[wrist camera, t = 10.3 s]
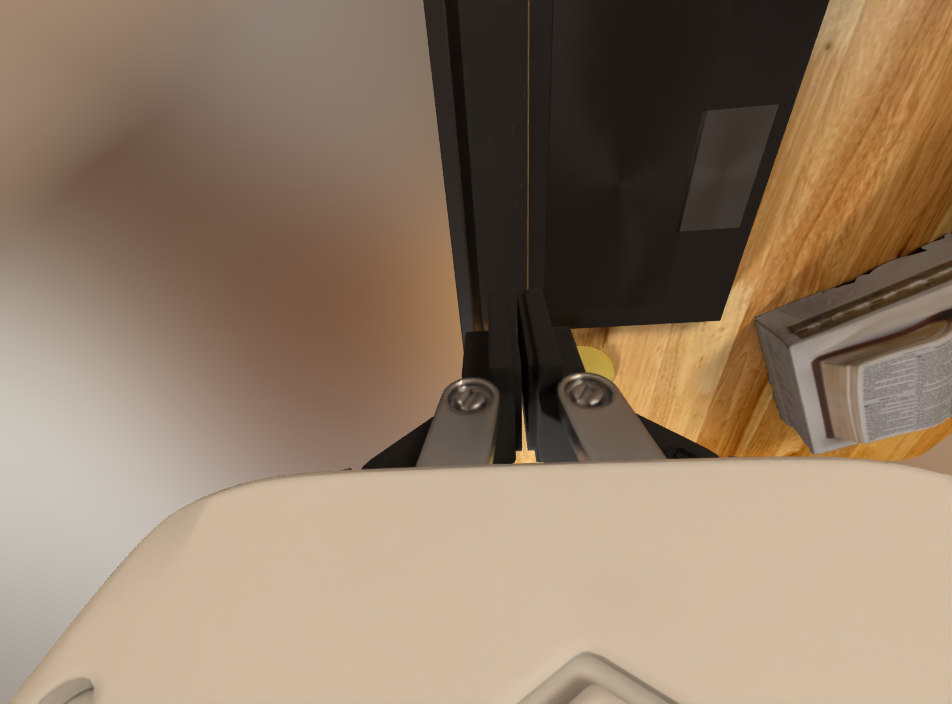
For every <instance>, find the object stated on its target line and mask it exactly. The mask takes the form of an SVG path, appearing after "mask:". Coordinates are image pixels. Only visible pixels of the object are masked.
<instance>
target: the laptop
mask: <svg viewBox="0 0 952 704" xmlns="http://www.w3.org/2000/svg"><path fill="white" fill-rule="evenodd" d="M828 3H829V0H528V198H527V289H533V288H541V289H542V293H543V296H544V300H545V303H546V307H547V310H548V313H549V317H550V320H551V324H552V327H564V326H568V327H569V328H570V329H576V328H595V327H613V326H631V325H650V324H668V323H686V322H704V321H720V320H721V317H722V314H723V311H724V308H725V305H726V302H727V299H728V296H729V293H730V290H731V287H732V284H733V282H734V279H735V276H736V273H737V270H738V267H739V264H740V261H741V258H742V255H743V252H744V249H745V246H746V243H747V240H748V238H749V235H750V232H751V229H752V226H753V223H754V220H755V217H756V214H757V211H758V208H759V205H760V202H761V199H762V197H763V194H764V191H765V188H766V185H767V182H768V179H769V176H770V173H771V170H772V167H773V164H774V161H775V158H776V155H777V153H778V150H779V147H780V144H781V141H782V138H783V135H784V132H785V129H786V126H787V123H788V120H789V117H790V114H791V112H792V109H793V106H794V103H795V100H796V97H797V94H798V91H799V88H800V85H801V82H802V79H803V76H804V73H805V70H806V68H807V65H808V62H809V59H810V56H811V53H812V50H813V47H814V44H815V41H816V38H817V35H818V32H819V29H820V27H821V24H822V21H823V18H824V15H825V12H826V9H827V6H828Z"/></svg>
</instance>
